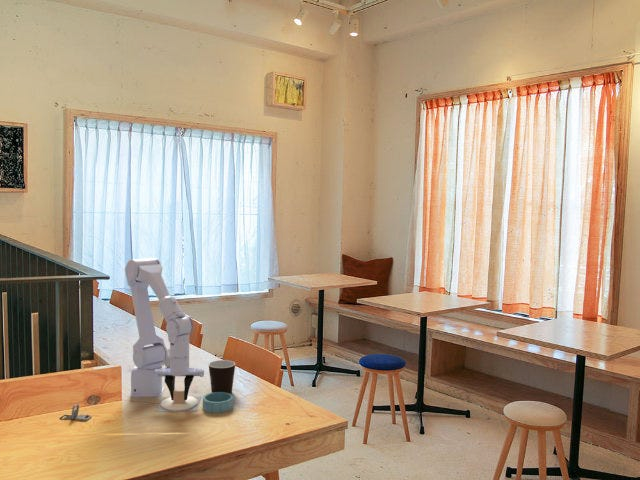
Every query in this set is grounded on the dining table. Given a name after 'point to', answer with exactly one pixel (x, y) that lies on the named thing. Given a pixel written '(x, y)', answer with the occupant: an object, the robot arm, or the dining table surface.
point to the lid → (179, 401)
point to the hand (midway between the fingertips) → (179, 399)
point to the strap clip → (76, 415)
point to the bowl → (217, 402)
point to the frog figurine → (167, 362)
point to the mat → (181, 410)
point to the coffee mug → (221, 375)
